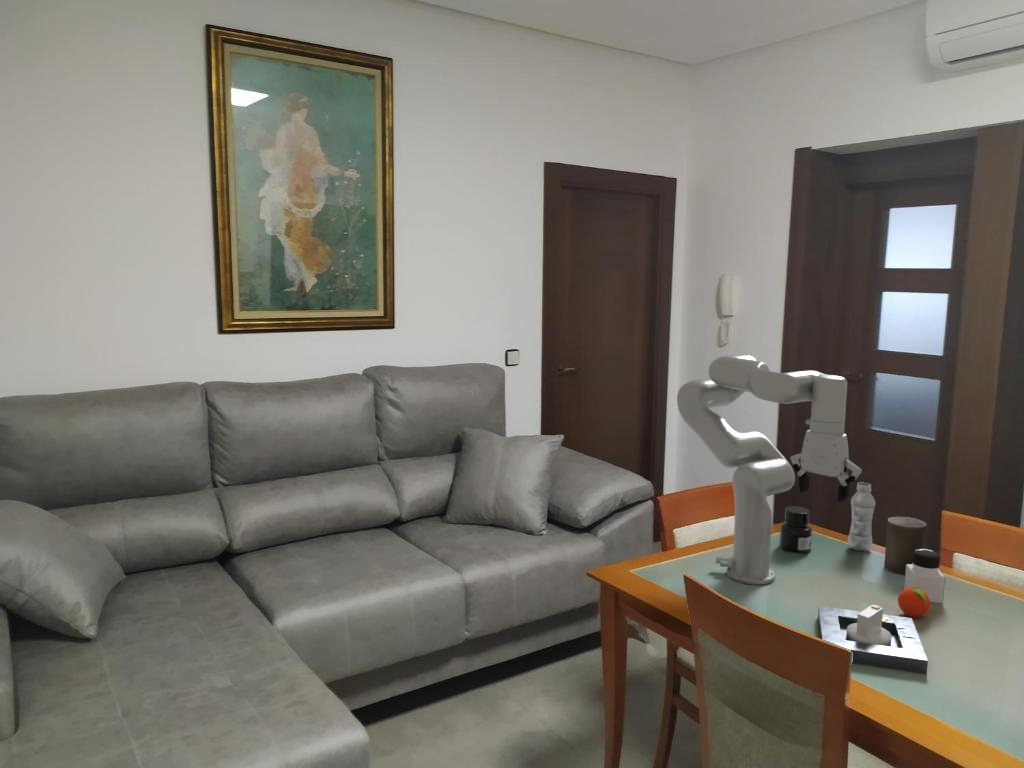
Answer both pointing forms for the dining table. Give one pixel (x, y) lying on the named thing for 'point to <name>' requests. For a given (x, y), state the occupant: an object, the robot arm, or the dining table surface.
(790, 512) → the ink bottle
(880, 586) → the dining table surface
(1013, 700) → the dining table surface
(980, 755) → the dining table surface
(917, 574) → the medicine bottle
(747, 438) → the robot arm
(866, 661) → the dial plate
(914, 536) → the pillar candle
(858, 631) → the dial knob
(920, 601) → the clementine
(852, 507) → the plastic bottle
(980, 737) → the dining table surface
